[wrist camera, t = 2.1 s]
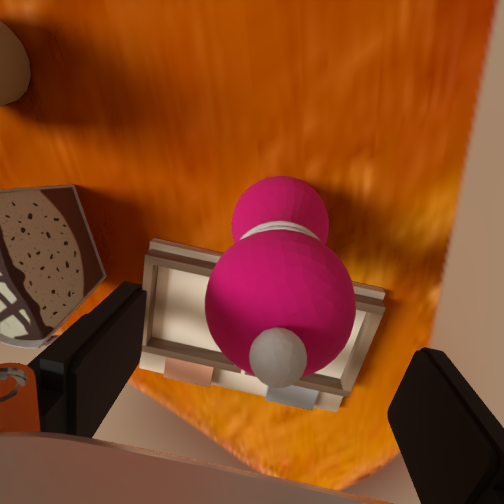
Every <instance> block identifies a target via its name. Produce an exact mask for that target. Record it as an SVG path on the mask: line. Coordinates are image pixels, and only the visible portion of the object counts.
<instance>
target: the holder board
mask: <svg viewBox="0 0 504 504" xmlns="http://www.w3.org/2000/svg"><path fill="white" fill-rule="evenodd" d="M223 254H224V253H221V252H216V251H211V250H207V249H202V248H198V247H193V246H189V245H184V244H180V243H175V242H171V241H166V240H161V239H157V238H153V239H152V240H151V241H150V247H149V251H148V252H147V253H146V254H145V259H144V272H143V285H142V288H143V290H146V291H147V300H146V311H145V321H144V332H143V343H142V353H141V358H140V368H142V369H146V370H150V371H155V372H159V373H164V377H165V378H169V379H173V380H178V381H182V382H187V383H191V384H196V385H200V386H205V387H209V388H210V385H211V384H213V385H217V386H222V387H226V388H231V389H235V390H240V391H244V392H249V393H253V394H257V395H262V396H266V397H265V400H267V401H271V402H276V403H280V404H285V405H289V406H294V407H298V408H303V409H307V410H312V409H313V407H315V408H320V409H324V410H329V411H333V412H337V411H338V408H339V406H340V403H341V401H342V398H343V397H349V395H350V393H351V390H352V388H353V385H354V383H355V381H356V378H357V376H358V374H359V371H360V369H361V366H362V364H363V362H364V359H365V357H366V354H367V352H368V350H369V347H370V345H371V343H372V340H373V338H374V335H375V333H376V331H377V328H378V326H379V323H380V321H381V319H382V316H383V314H384V312H385V309H386V307H385V305H384V304H383V302H382V301H383V299H384V296H385V294H386V293H385V291H384V290H383V288H380V287H375V286H371V285H366V284H362V283H357V282H352V284H353V288H354V292H355V297H356V316H355V321H354V325H353V329H352V332H351V336H350V338H349V340H348V342H347V344H346V346H345V348H344V349H343V350H342V351H341V352H340V354H339V355H338V356H337V357H336V358H335V360H333V361H332V362H331V363H329V364H328V365H327V366H326V367H324V368H323V369H321V370H319V371H317V372H315V373H313V374H311V375H308V376H304V377H301V378H300V379H299V380H298V381H297V382H295V383H294V384H292V385H291V386H288V387H285V388H273V387H270V386H267V385H265V384H264V383H262V382H261V381H260V380H259V379H258V378H257V377H256V376H255V375H252V374H250V373H248V372H245V371H243V370H242V369H240V368H238V367H237V366H236V365H235V364H233V363H232V362H231V361H230V360H229V359H228V358H227V357H225V356H224V355H223V353H222V352H221V350H220V349H219V347H218V346H217V345H216V343H215V342H214V340H213V338H212V336H211V334H210V332H209V328H208V325H207V321H206V316H205V294H206V289H207V284H208V281H209V277H210V275H211V273H212V271H213V269H214V267H215V266H216V264H217V262H218V260H219V259H220V257H221V256H222V255H223Z"/></svg>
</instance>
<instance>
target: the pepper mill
mask: <svg viewBox="0 0 504 504" xmlns="http://www.w3.org/2000/svg"><path fill="white" fill-rule="evenodd" d="M328 234H329V218H328V213H327V209H326V206H325V204H324V202H323V200H322V198H321V197H320V195H319V194H318V193H317V192H316V191H315V190H314V189H313V188H312V187H311V186H309V185H308V184H306V183H305V182H303V181H301V180H299V179H295V178H292V177H285V176H276V177H270V178H266V179H263V180H261V181H259V182H257V183H255V184H253V185H252V186H251V187H250V188H248V189H247V190H246V191H245V192H244V193H243V195H242V196H241V197H240V199H239V201H238V202H237V205H236V207H235V210H234V213H233V218H232V235H233V239H234V242H235V244H234V245H233V246H231V247H230V248H229V249H228V250H227V251H226V252H225V253H224V254H223V255H222V256H221V257H220V259H219V260H218V262H217V264H216V266H215V267H214V269H213V271H212V273H211V275H210V277H209V281H208V284H207V289H206V294H205V316H206V321H207V325H208V328H209V332H210V334H211V336H212V338H213V340H214V342H215V343H216V345H217V346H218V347H219V349H220V350H221V352H222V353H223V355H224V356H225V357H227V358H228V359H229V360H230V361H231V362H232V363H233V364H235V365H236V366H237V367H238V368H240V369H242V370H243V371H245V372H248V373H250V374H252V375H255V376H256V377H257V378H258V379H259V380H260V381H261V382H262V383H264V384H265V385H267V386H270V387H273V388H285V387H288V386H291V385H292V384H294V383H295V382H297V381H298V380H299V379H300V378H301V377H304V376H308V375H311V374H313V373H315V372H317V371H319V370H321V369H323V368H324V367H326V366H327V365H328V364H329V363H331V362H332V361H333V360H335V358H336V357H337V356H338V355H339V354H340V352H341V351H342V350H343V349H344V348H345V346H346V344H347V342H348V340H349V338H350V336H351V332H352V329H353V325H354V321H355V316H356V297H355V292H354V288H353V284H352V281H351V278H350V276H349V273H348V271H347V269H346V267H345V266H344V264H343V263H342V261H341V260H340V259H339V257H338V256H337V255H336V253H335V252H334V251H332V250H331V249H330V248H328V247H327V246H326V245H325V244H326V242H327V239H328Z"/></svg>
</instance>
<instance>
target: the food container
mask: <svg viewBox="0 0 504 504" xmlns="http://www.w3.org/2000/svg"><path fill="white" fill-rule="evenodd" d="M106 277H107V276H106V273H105V270H104V267H103V265H102V262H101V259H100V256H99V253H98V250H97V248H96V245H95V242H94V239H93V236H92V233H91V231H90V228H89V225H88V222H87V219H86V216H85V214H84V211H83V208H82V205H81V202H80V199H79V196H78V194H77V191H76V188H75V185H74V184H72V185H58V186H44V187H30V188H16V189H2V190H0V343H3V344H6V345H10V346H14V347H20V348H40V347H41V346H46V345H48V344H50V343H51V342H53V341H55V340H56V339H57V338H58V337H59V336H60V335H57V336H52V335H53V334H54V333H55V332H56V331H57V330H58V329H59V327H60V326H61V325H62V324H63V323H64V322H65V321H66V320H67V319H68V318H69V317H70V316H71V315H72V314H73V312H74V311H75V310H76V309H77V308H78V307H79V306H80V305H81V304H82V303H83V302H84V301H85V300H86V299H87V298H88V296H89V295H90V294H91V293H92V292H93V291H94V290H95V289H96V288H97V287H98V286H99V285H100V284H101V283H102V281H103V280H104V279H105V278H106Z"/></svg>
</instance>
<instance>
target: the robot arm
mask: <svg viewBox="0 0 504 504" xmlns="http://www.w3.org/2000/svg"><path fill="white" fill-rule="evenodd" d="M146 300H147V291H146V290H143V288H142V285H139V284H135V283H130V282H123V283H122V284H121V285H120V286H119V287H117V288H116V289H115V290H114V291H113V292H112V293H111V294H110V295H109V296H108V297H106V298H105V299H104V300H103V301H102V302H101V303H100V304H99V305H98V306H97V307H95V308H94V309H93V310H92V311H91V312H90V313H88V314H85V315H83V316H82V317H81V318H79V319H78V320H77V321H76V322H75V323H74V324H73V325H72V326H70V327H69V328H68V329H67V330H66V331H65V332H64V333H63V334H62V335H60V336H59V337H58V338H57V339H56V340H55V341H54V342H53V343H51V345H49V346H48V347H47V348H46V349H45V350H44V351H43V352H41V353H40V354H39V355H38V356H37V357H36V358H35V359H33V360H32V361H31V362H30V363H29V364H28V365H23V364H20V363H3V364H0V504H393V503H388V502H384V501H380V500H375V499H371V498H367V497H362V496H358V495H353V494H349V493H344V492H340V491H336V490H331V489H327V488H322V487H318V486H313V485H309V484H304V483H300V482H295V481H291V480H286V479H282V478H277V477H273V476H268V475H264V474H259V473H255V472H250V471H246V470H241V469H237V468H232V467H228V466H223V465H218V464H213V463H209V462H204V461H200V460H195V459H191V458H186V457H181V456H177V455H172V454H168V453H163V452H158V451H154V450H149V449H144V448H139V447H134V446H128V445H124V444H118V443H113V442H108V441H103V440H98V439H93V438H92V437H93V435H94V434H95V432H96V431H97V429H98V427H99V426H100V424H101V423H102V421H103V419H104V418H105V416H106V415H107V413H108V411H109V410H110V408H111V407H112V405H113V404H114V402H115V400H116V399H117V397H118V396H119V394H120V392H121V391H122V389H123V388H124V386H125V384H126V383H127V381H128V380H129V378H130V376H131V375H132V373H133V372H134V370H135V369H136V367H137V365H138V363H139V361H140V358H141V353H142V343H143V332H144V321H145V311H146ZM388 421H389V423H390V426H391V429H392V431H393V434H394V436H395V439H396V441H397V444H398V446H399V449H400V451H401V454H402V456H403V459H404V462H405V464H406V467H407V469H408V472H409V474H410V477H411V479H412V482H413V484H414V487H415V489H416V492H417V494H418V497H419V500H420V502H421V504H504V428H503V427H502V425H501V424H500V423H499V422H498V420H497V419H496V418H495V416H494V415H493V414H492V413H491V411H490V410H489V409H488V408H487V406H486V405H485V404H484V402H483V401H482V400H481V399H480V397H479V396H478V395H477V394H476V392H475V391H474V390H473V388H472V387H471V386H470V385H469V383H468V382H467V381H466V380H465V378H464V377H463V376H462V374H461V373H460V372H459V371H458V369H457V368H456V367H455V366H454V364H453V363H452V362H451V360H450V359H449V358H448V357H447V355H446V354H445V353H444V352H443V351H439V350H435V349H430V348H426V347H424V348H422V349H421V350H418V351H416V352H415V353H414V355H413V358H412V360H411V362H410V364H409V366H408V368H407V370H406V372H405V375H404V377H403V379H402V381H401V383H400V385H399V387H398V389H397V392H396V394H395V396H394V398H393V400H392V402H391V404H390V406H389V409H388Z"/></svg>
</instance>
